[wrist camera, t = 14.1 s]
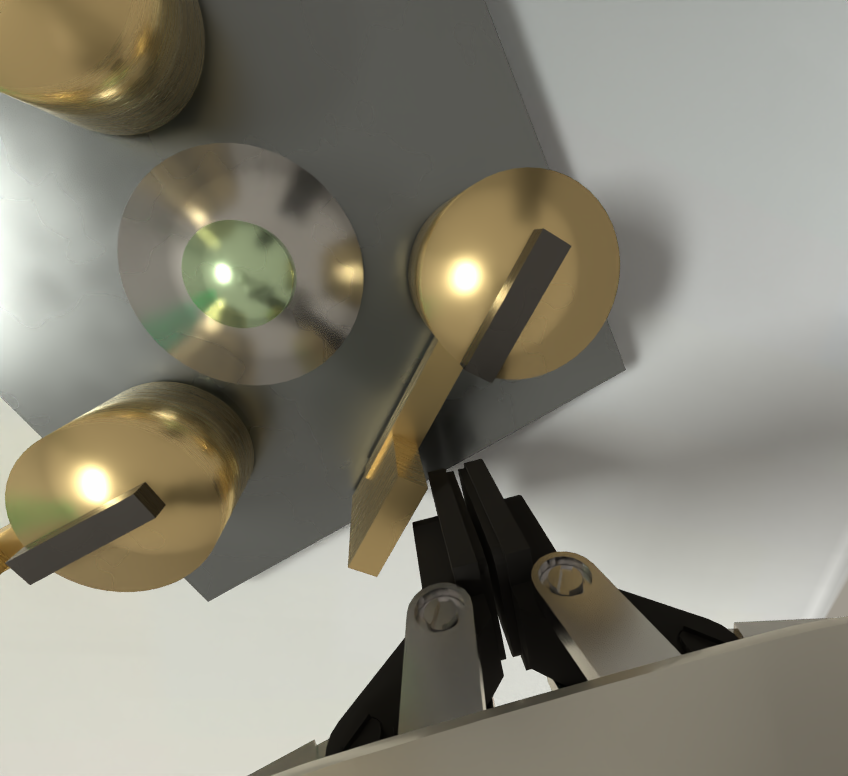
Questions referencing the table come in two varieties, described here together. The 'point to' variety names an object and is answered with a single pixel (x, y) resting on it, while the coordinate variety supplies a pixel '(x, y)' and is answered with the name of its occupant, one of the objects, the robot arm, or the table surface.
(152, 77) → the foot screw
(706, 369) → the table surface
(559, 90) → the table surface
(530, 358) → the foot screw
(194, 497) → the foot screw
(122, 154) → the levelling plate
